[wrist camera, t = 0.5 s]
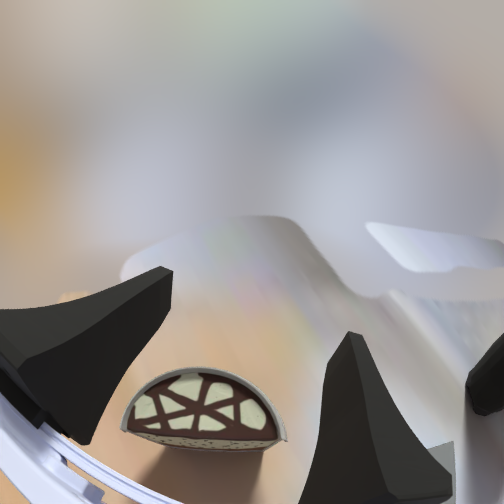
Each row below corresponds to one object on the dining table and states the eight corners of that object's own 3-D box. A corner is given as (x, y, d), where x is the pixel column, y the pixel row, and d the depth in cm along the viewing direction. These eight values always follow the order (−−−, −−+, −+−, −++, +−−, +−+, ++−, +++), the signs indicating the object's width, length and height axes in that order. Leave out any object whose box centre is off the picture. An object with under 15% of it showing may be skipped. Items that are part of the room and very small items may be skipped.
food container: (275, 396, 26) (284, 358, 19) (279, 450, 22) (291, 438, 15) (161, 393, 26) (125, 354, 19) (156, 445, 22) (112, 426, 15)
